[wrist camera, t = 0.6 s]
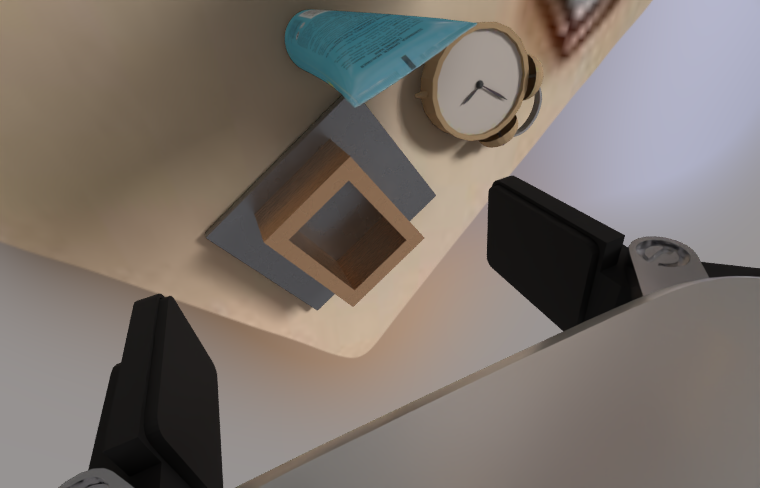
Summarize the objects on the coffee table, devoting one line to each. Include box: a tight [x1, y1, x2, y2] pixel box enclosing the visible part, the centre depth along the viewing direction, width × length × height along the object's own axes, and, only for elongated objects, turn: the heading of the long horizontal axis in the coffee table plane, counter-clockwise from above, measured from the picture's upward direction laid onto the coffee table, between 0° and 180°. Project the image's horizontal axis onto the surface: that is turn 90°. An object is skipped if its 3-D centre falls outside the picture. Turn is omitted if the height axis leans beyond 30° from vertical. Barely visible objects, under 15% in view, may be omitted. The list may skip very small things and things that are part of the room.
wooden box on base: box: [205, 95, 436, 311], centre depth 39 cm, size 20×16×7 cm
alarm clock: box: [415, 22, 543, 147], centre depth 41 cm, size 11×5×15 cm
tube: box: [285, 9, 477, 108], centre depth 26 cm, size 7×5×19 cm, turn 123°
